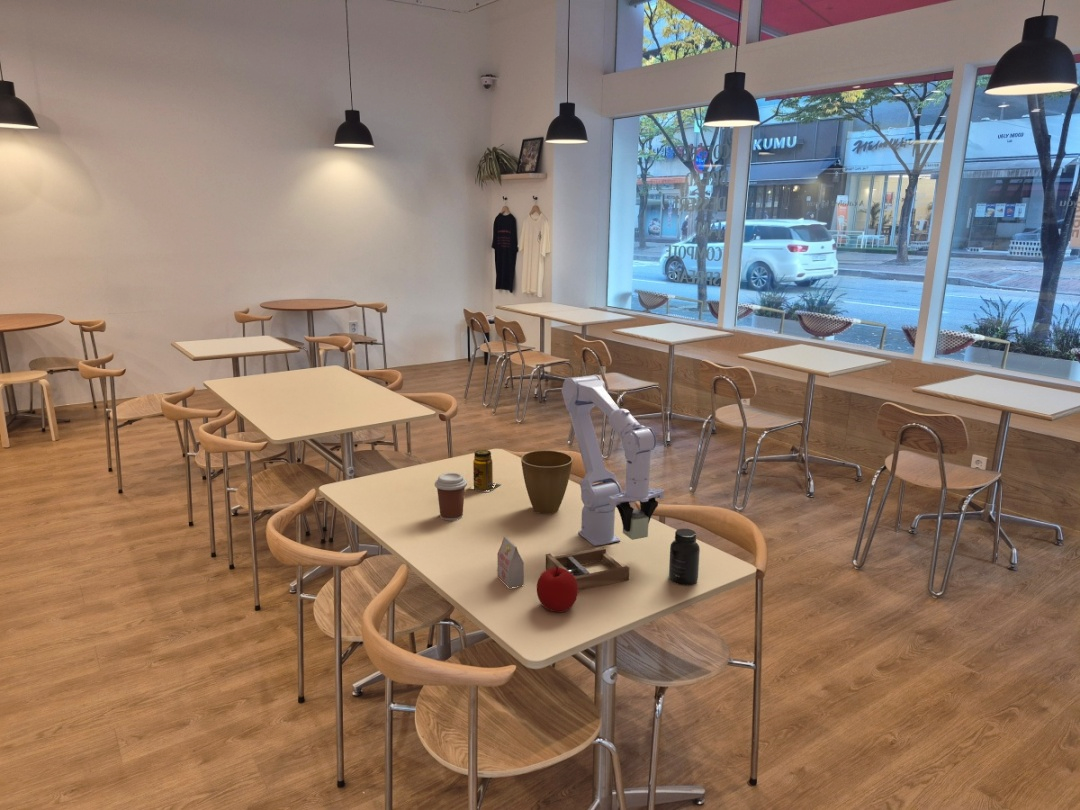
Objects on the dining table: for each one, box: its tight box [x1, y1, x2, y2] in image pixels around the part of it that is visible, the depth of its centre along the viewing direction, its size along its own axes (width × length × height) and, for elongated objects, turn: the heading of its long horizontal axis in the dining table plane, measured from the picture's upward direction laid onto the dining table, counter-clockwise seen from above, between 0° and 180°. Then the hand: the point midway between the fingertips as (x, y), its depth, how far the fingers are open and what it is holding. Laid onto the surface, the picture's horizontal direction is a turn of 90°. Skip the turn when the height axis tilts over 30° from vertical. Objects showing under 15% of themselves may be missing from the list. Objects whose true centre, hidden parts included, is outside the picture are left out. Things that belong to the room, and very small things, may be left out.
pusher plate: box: [566, 556, 591, 576], centre depth 173 cm, size 9×5×3 cm, turn 24°
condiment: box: [468, 449, 502, 493], centre depth 231 cm, size 7×8×12 cm
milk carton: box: [496, 536, 525, 589], centre depth 170 cm, size 4×7×10 cm, turn 26°
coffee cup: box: [434, 472, 468, 522], centre depth 208 cm, size 9×9×12 cm
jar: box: [622, 508, 650, 541], centre depth 181 cm, size 4×4×6 cm
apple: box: [536, 567, 579, 613], centre depth 159 cm, size 9×9×10 cm
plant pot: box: [520, 449, 574, 515], centre depth 213 cm, size 15×15×16 cm
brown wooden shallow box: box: [544, 547, 630, 591], centre depth 175 cm, size 12×16×4 cm
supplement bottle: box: [668, 528, 701, 586], centre depth 172 cm, size 7×7×12 cm
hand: (635, 528), depth 182 cm, fingers closed on jar, 4 cm apart
